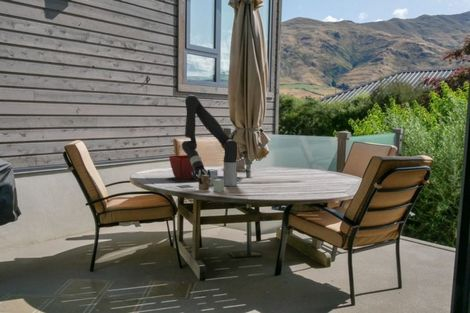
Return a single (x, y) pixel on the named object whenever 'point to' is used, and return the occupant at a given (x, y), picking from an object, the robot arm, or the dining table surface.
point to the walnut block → (204, 182)
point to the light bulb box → (213, 176)
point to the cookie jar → (239, 165)
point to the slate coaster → (184, 186)
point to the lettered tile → (204, 190)
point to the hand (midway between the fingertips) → (205, 183)
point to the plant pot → (181, 166)
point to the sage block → (218, 185)
